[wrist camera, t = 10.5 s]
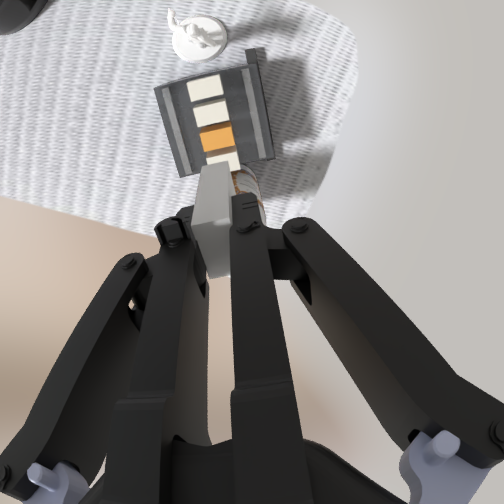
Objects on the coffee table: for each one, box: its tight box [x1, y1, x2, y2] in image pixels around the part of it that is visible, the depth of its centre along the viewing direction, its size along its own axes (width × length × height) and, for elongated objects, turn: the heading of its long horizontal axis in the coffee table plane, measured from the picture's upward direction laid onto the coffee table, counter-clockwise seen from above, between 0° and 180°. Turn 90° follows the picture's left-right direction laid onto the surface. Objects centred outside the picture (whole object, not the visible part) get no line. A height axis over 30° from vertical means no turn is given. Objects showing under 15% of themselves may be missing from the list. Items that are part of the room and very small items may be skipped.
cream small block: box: [206, 145, 240, 172], centre depth 35 cm, size 2×4×3 cm, turn 101°
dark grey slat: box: [245, 48, 276, 161], centre depth 38 cm, size 16×1×1 cm, turn 11°
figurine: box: [167, 8, 227, 63], centre depth 27 cm, size 7×7×12 cm
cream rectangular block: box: [187, 74, 224, 102], centre depth 30 cm, size 2×4×3 cm, turn 101°
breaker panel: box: [154, 63, 274, 178], centre depth 36 cm, size 12×12×7 cm
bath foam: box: [228, 164, 266, 278], centre depth 37 cm, size 7×7×20 cm
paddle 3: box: [200, 121, 235, 152], centre depth 33 cm, size 2×4×3 cm, turn 101°
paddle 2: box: [193, 98, 229, 127], centre depth 32 cm, size 2×4×3 cm, turn 101°
